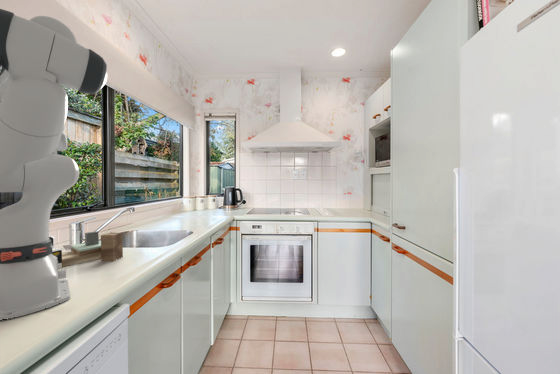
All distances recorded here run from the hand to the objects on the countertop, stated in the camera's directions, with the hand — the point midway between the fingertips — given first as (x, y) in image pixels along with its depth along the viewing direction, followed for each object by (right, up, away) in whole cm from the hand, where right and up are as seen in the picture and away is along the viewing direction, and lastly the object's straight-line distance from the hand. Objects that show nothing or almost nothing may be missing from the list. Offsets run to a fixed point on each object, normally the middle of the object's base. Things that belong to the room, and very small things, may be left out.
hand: (36, 161), depth 90 cm
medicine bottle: (+5, -39, -2) cm, 39 cm away
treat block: (+21, -38, +10) cm, 44 cm away
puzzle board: (+8, -38, +10) cm, 40 cm away
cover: (+10, -34, +13) cm, 37 cm away
